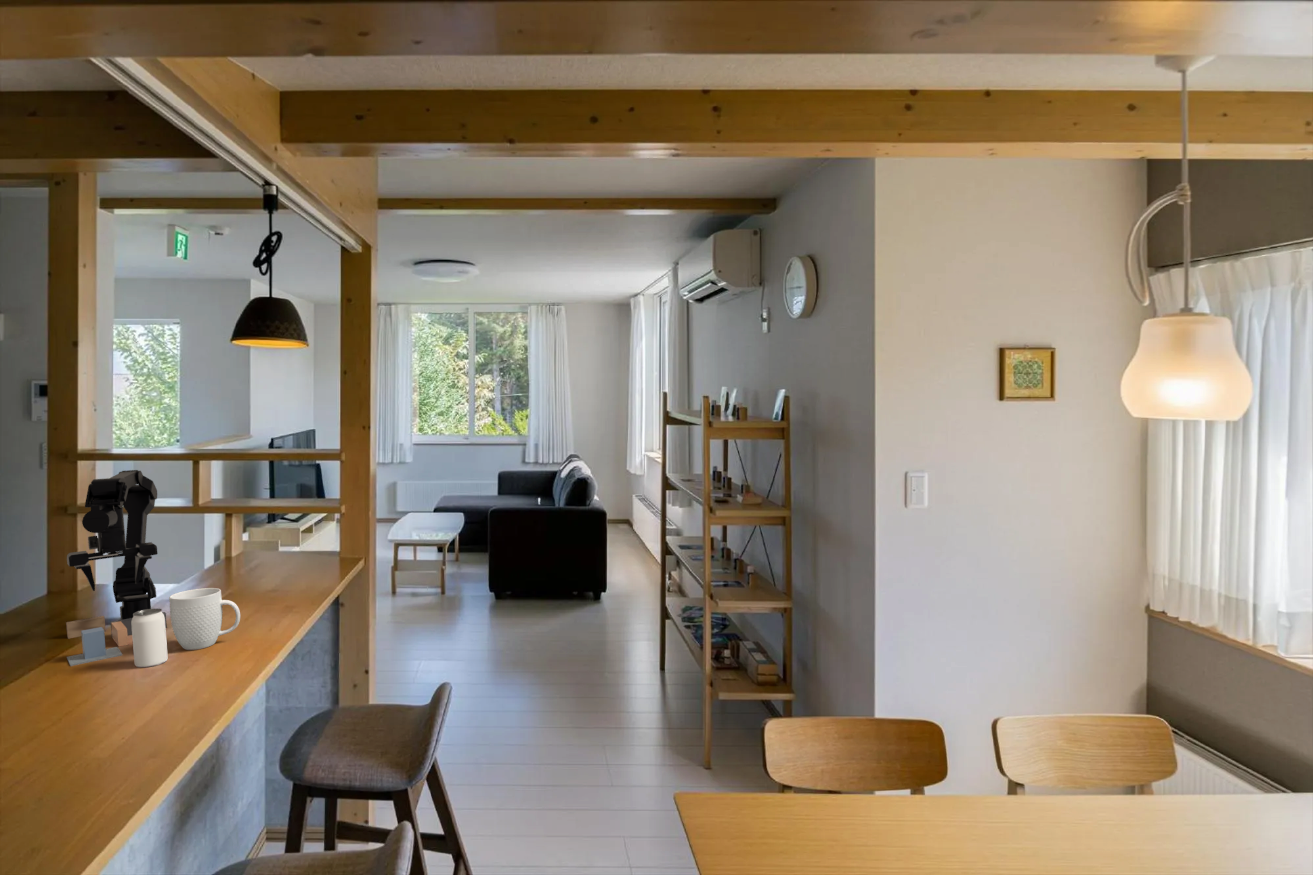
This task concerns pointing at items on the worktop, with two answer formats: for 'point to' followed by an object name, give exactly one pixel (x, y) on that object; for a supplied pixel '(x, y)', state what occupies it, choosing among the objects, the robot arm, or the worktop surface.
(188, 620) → the mug
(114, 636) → the grey tan flat block
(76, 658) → the pad
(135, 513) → the robot arm
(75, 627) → the back block
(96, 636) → the plug
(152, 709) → the worktop surface
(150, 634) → the can
